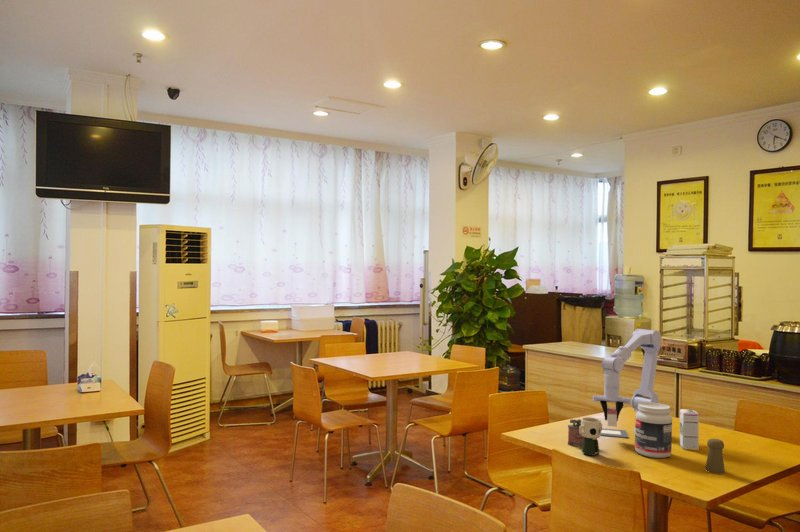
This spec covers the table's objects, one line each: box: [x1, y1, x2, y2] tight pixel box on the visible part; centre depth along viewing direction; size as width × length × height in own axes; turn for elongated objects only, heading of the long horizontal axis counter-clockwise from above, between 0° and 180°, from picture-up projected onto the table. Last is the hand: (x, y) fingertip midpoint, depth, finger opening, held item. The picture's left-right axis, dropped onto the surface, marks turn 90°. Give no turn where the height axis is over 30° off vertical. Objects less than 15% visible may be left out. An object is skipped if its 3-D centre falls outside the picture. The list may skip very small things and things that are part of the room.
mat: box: [600, 427, 629, 439], centre depth 253 cm, size 15×11×1 cm
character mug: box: [579, 416, 603, 456], centre depth 223 cm, size 11×7×13 cm, turn 116°
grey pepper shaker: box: [705, 438, 726, 475], centre depth 207 cm, size 6×6×11 cm
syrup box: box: [679, 408, 700, 451], centre depth 234 cm, size 6×6×14 cm
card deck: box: [605, 406, 618, 428], centre depth 241 cm, size 3×7×6 cm, turn 167°
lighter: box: [567, 418, 585, 447], centre depth 235 cm, size 8×3×10 cm, turn 84°
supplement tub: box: [634, 402, 673, 459], centre depth 225 cm, size 13×13×18 cm
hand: (611, 420), depth 241 cm, fingers closed on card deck, 3 cm apart
